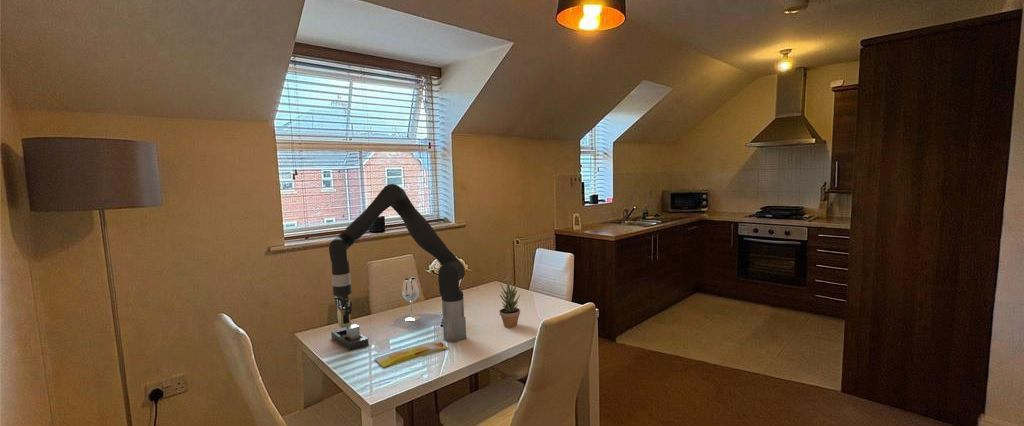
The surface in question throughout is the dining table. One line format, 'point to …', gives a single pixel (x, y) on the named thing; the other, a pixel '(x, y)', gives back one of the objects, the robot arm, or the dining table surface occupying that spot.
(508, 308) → the potted plant
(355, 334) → the light grey block
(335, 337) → the dark grey tray
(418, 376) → the dining table surface
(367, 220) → the robot arm
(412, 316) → the wineglass
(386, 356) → the food package
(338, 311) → the tan rectangular block
